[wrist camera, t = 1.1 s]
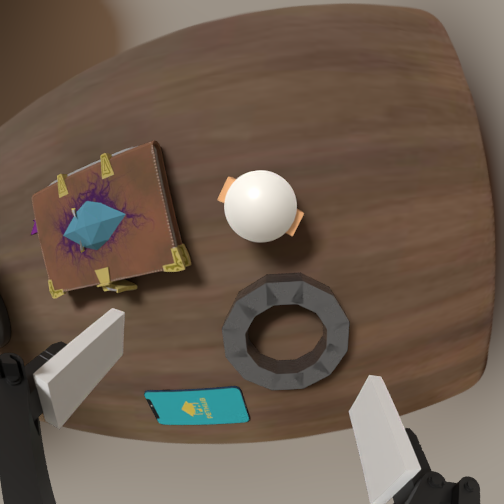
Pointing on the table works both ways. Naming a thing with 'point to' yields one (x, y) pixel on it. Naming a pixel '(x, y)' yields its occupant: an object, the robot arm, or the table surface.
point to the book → (109, 223)
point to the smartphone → (198, 406)
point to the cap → (260, 206)
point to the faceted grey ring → (283, 293)
